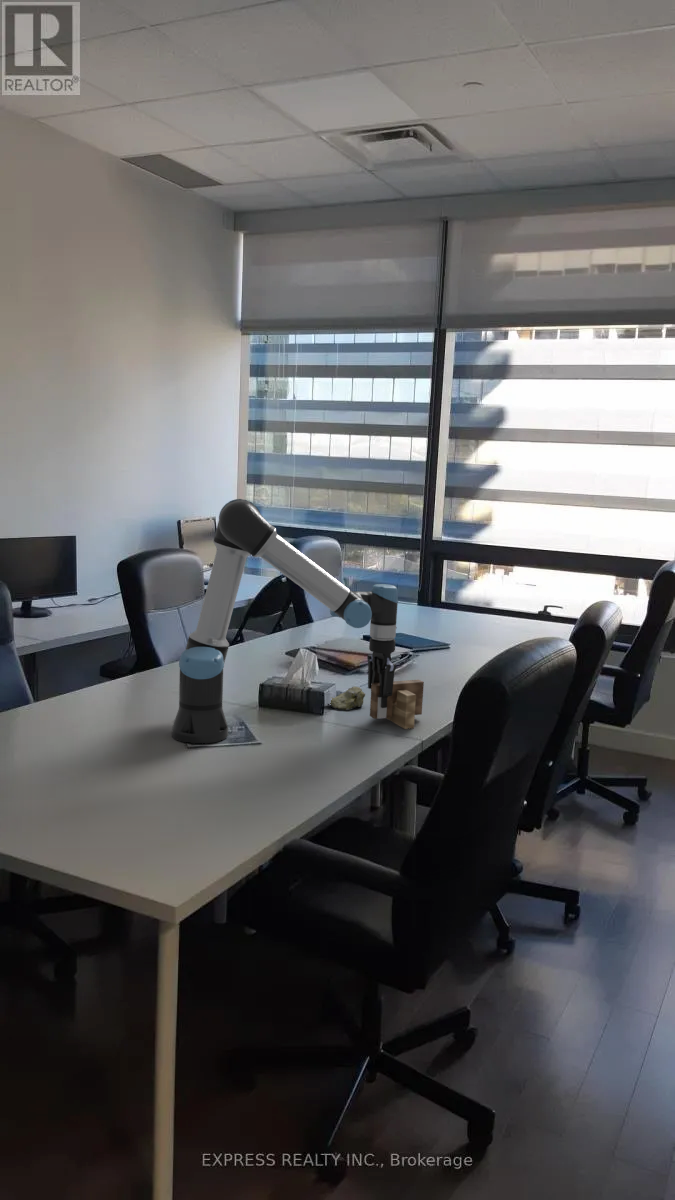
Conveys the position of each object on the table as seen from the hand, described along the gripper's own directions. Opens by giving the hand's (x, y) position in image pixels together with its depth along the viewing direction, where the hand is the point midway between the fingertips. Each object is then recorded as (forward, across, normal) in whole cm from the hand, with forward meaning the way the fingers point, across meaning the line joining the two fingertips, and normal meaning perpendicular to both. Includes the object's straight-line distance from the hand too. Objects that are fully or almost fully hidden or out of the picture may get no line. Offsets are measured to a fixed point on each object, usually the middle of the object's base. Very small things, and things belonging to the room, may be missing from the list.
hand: (378, 715), depth 265 cm
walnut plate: (0, 0, -6) cm, 6 cm away
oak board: (+2, 0, -6) cm, 6 cm away
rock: (+2, +19, +2) cm, 19 cm away
